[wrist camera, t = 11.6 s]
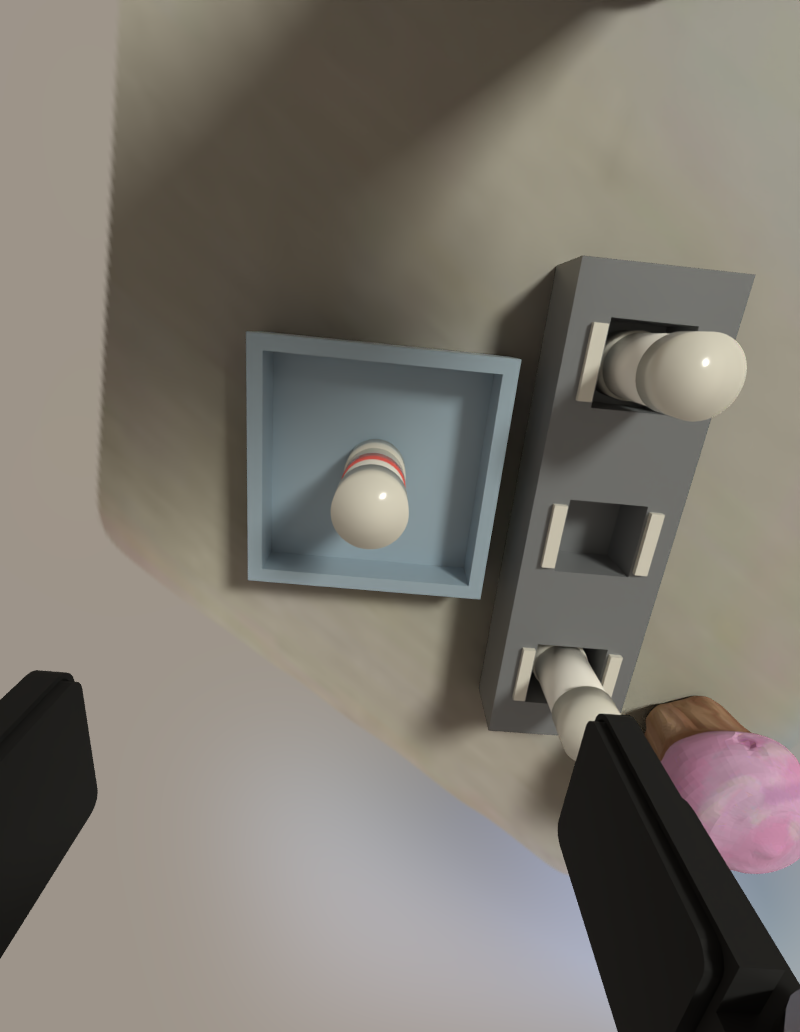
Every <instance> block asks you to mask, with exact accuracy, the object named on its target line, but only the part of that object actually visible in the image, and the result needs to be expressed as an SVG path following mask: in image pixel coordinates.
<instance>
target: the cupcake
mask: <svg viewBox="0 0 800 1032" xmlns="http://www.w3.org/2000/svg"><path fill="white" fill-rule="evenodd" d="M644 735H645V737H646V738H647V740H648V742H649V743H650V745H651V747H652V748H653V750H654V752H655V753H656V755H657V757H658V758H659V760H660V762H661V763H662V765H663V767H664V768H665V770H666V772H667V773H668V775H669V777H670V778H671V780H672V782H673V783H674V785H675V787H676V788H677V790H678V792H679V793H680V795H681V797H682V798H683V799H684V800H686V801H687V802H688V803H689V805H690V806H691V807H692V809H693V810H694V811H695V813H696V815H697V816H698V818H699V820H700V821H701V823H702V825H703V826H704V828H705V829H706V831H707V833H708V834H709V836H710V838H711V839H712V841H713V843H714V844H715V846H716V848H717V849H718V851H719V853H720V854H721V856H722V857H723V859H724V861H725V862H726V864H727V866H728V867H729V869H730V870H734V871H738V872H742V873H750V874H762V873H769V872H774V871H777V870H780V869H782V868H785V867H787V866H789V865H791V864H792V863H794V862H795V861H797V860H798V859H799V858H800V764H799V763H798V761H797V759H796V758H795V756H794V755H793V754H792V753H791V752H790V751H789V750H788V749H787V748H786V747H785V746H783V745H782V744H780V743H778V742H777V741H775V740H772V739H770V738H768V737H765V736H762V735H758V734H754V733H751V732H750V731H748V730H747V729H745V728H744V727H743V726H742V725H741V724H740V723H739V722H738V721H737V720H736V719H735V718H734V717H733V716H732V715H731V714H730V713H729V712H728V711H726V710H725V709H724V708H723V707H722V706H721V705H720V704H718V703H717V702H715V701H714V700H712V699H710V698H708V697H704V696H692V697H689V698H685V699H682V700H678V701H673V702H670V703H666V704H659V705H657V706H656V707H655V708H654V709H652V711H651V712H650V713H649V715H648V716H647V718H646V732H645V734H644Z"/></svg>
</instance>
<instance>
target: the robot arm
mask: <svg viewBox="0 0 800 1032" xmlns="http://www.w3.org/2000/svg"><path fill="white" fill-rule="evenodd" d="M96 800H97V784H96V778H95V770H94V764H93V757H92V750H91V745H90V737H89V731H88V724H87V718H86V711H85V704H84V698H83V691H82V686H81V684H80V683H79V682H74V679H73V676H72V675H71V674H69V673H63V672H51V671H38V670H36V671H32V672H30V673H29V674H28V675H26V676H25V677H24V678H23V679H22V680H21V681H20V682H19V683H18V684H17V685H16V686H15V687H13V688H12V689H11V690H10V691H9V692H8V693H7V694H6V695H5V696H4V697H3V698H2V699H1V700H0V958H1V957H2V955H3V953H4V952H5V950H6V949H7V947H8V946H9V944H10V942H11V941H12V939H13V938H14V936H15V934H16V933H17V931H18V930H19V928H20V926H21V925H22V923H23V922H24V920H25V918H26V917H27V915H28V914H29V912H30V910H31V909H32V907H33V906H34V904H35V902H36V901H37V899H38V898H39V896H40V894H41V893H42V891H43V890H44V888H45V886H46V885H47V883H48V881H49V880H50V878H51V877H52V875H53V874H54V872H55V870H56V869H57V867H58V866H59V864H60V863H61V861H62V859H63V858H64V856H65V855H66V853H67V851H68V850H69V848H70V846H71V845H72V843H73V842H74V840H75V839H76V837H77V835H78V834H79V832H80V830H81V829H82V827H83V826H84V824H85V823H86V821H87V819H88V818H89V816H90V814H91V813H92V811H93V809H94V806H95V803H96ZM558 838H559V843H560V847H561V850H562V854H563V857H564V860H565V863H566V866H567V870H568V873H569V876H570V879H571V883H572V886H573V889H574V892H575V895H576V899H577V902H578V905H579V908H580V911H581V915H582V918H583V921H584V924H585V927H586V931H587V934H588V937H589V941H590V944H591V947H592V950H593V953H594V957H595V960H596V963H597V966H598V970H599V973H600V976H601V979H602V982H603V985H604V989H605V992H606V995H607V998H608V1002H609V1005H610V1008H611V1011H612V1014H613V1018H614V1021H615V1024H616V1027H617V1031H618V1032H800V984H799V982H798V981H797V979H796V977H795V976H794V974H793V973H792V971H791V970H790V968H789V966H788V964H787V963H786V961H785V960H784V958H783V956H782V954H781V953H780V951H779V950H778V948H777V946H776V945H775V943H774V941H773V940H772V938H771V936H770V935H769V933H768V931H767V930H766V928H765V927H764V925H763V923H762V922H761V920H760V918H759V917H758V915H757V913H756V912H755V910H754V908H753V907H752V905H751V904H750V902H749V900H748V899H747V897H746V895H745V894H744V892H743V890H742V889H741V887H740V885H739V884H738V882H737V880H736V879H735V877H734V876H733V874H732V872H731V871H730V869H729V867H728V866H727V864H726V862H725V861H724V859H723V857H722V856H721V854H720V853H719V851H718V849H717V848H716V846H715V844H714V843H713V841H712V839H711V838H710V836H709V834H708V833H707V831H706V829H705V828H704V826H703V825H702V823H701V821H700V820H699V818H698V816H697V815H696V813H695V811H694V810H693V809H692V807H691V806H690V805H689V803H688V802H687V801H686V800H684V799H683V798H682V797H681V795H680V793H679V792H678V790H677V788H676V787H675V785H674V783H673V782H672V780H671V778H670V777H669V775H668V773H667V772H666V770H665V768H664V767H663V765H662V763H661V762H660V760H659V758H658V757H657V755H656V753H655V752H654V750H653V748H652V747H651V745H650V743H649V742H648V740H647V738H646V737H645V735H644V733H643V732H642V730H641V728H640V727H639V725H638V723H637V722H636V720H635V719H634V718H633V717H631V716H629V715H616V714H598V715H597V716H596V719H595V721H589V722H588V723H587V725H586V727H585V731H584V734H583V738H582V741H581V745H580V748H579V752H578V755H577V759H576V762H575V766H574V769H573V773H572V776H571V780H570V783H569V787H568V790H567V794H566V797H565V801H564V804H563V808H562V811H561V815H560V818H559V822H558Z"/></svg>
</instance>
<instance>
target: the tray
mask: <svg viewBox="0 0 800 1032" xmlns="http://www.w3.org/2000/svg"><path fill="white" fill-rule="evenodd" d="M521 360H522V359H518V358H514V357H510V356H501V355H491V354H481V353H471V352H462V351H452V350H442V349H432V348H422V347H413V346H403V345H393V344H383V343H373V342H364V341H354V340H344V339H334V338H324V337H314V336H305V335H295V334H285V333H275V332H265V331H246V394H247V526H248V580H252V581H264V582H276V583H288V584H300V585H312V586H324V587H336V588H348V589H361V590H373V591H385V592H397V593H409V594H421V595H433V596H445V597H457V598H469V599H480V598H481V592H482V586H483V581H484V575H485V569H486V563H487V557H488V551H489V546H490V540H491V534H492V528H493V522H494V517H495V511H496V505H497V499H498V493H499V487H500V482H501V476H502V470H503V464H504V458H505V453H506V447H507V441H508V435H509V429H510V424H511V418H512V412H513V406H514V400H515V394H516V389H517V383H518V377H519V371H520V365H521ZM369 439H381V440H385V441H387V442H389V443H391V444H393V445H394V446H395V447H396V448H397V449H398V450H399V451H400V453H401V455H402V457H403V459H404V464H405V474H406V479H405V485H406V491H407V497H408V508H409V518H408V523H407V526H406V528H405V530H404V532H403V533H402V534H401V536H400V537H399V538H398V539H397V540H396V541H394V542H393V543H391V544H390V545H388V546H385V547H383V548H379V549H362V548H358V547H355V546H353V545H351V544H349V543H347V542H346V541H345V540H344V539H342V538H341V537H340V535H339V534H338V533H337V531H336V530H335V528H334V526H333V523H332V520H331V504H332V500H333V498H334V495H335V492H336V489H337V487H338V484H339V482H340V481H341V479H342V476H343V472H344V468H345V465H346V462H347V459H348V457H349V454H350V453H351V451H352V450H353V448H354V447H355V446H357V445H358V444H359V443H361V442H363V441H366V440H369Z"/></svg>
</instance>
